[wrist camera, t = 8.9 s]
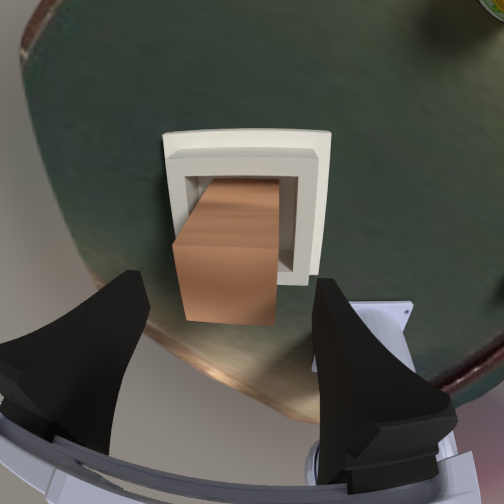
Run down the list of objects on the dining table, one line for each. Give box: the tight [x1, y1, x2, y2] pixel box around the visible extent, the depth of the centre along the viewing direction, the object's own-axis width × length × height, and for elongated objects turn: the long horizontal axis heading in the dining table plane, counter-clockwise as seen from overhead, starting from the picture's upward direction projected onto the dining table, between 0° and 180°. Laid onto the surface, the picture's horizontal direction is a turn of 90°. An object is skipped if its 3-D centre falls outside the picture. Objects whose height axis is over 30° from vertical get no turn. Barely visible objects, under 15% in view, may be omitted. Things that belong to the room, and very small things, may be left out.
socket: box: [163, 128, 331, 285], centre depth 18 cm, size 10×10×3 cm
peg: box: [172, 178, 279, 326], centre depth 15 cm, size 4×4×8 cm
